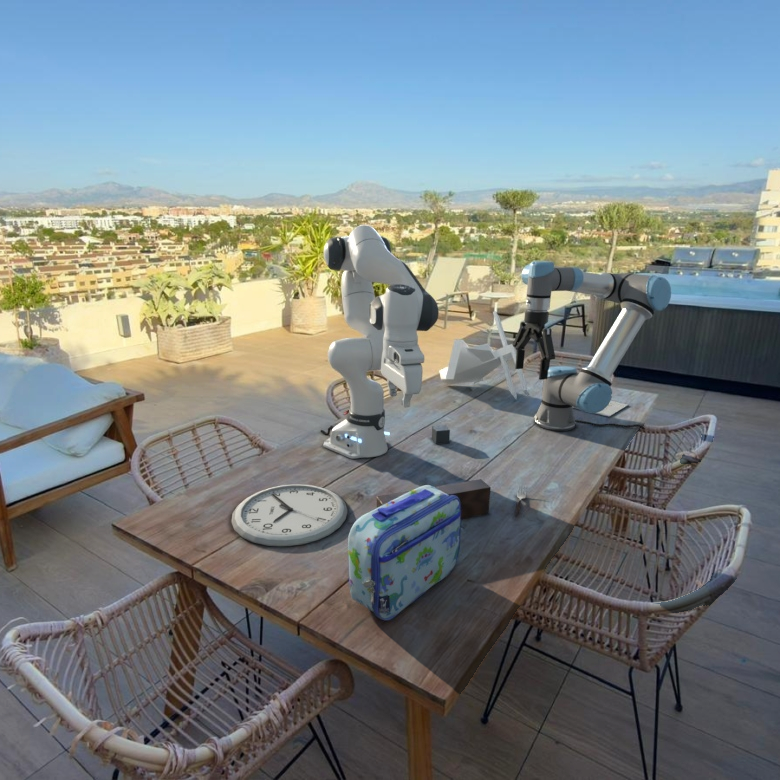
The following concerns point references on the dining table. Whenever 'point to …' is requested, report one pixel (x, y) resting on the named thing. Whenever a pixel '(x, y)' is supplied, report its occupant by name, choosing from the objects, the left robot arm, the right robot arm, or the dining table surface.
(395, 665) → the dining table surface
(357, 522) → the lunch box
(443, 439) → the slate block
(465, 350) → the white plastic object
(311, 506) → the wall clock
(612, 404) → the invitation card
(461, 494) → the plank
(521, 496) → the fork
